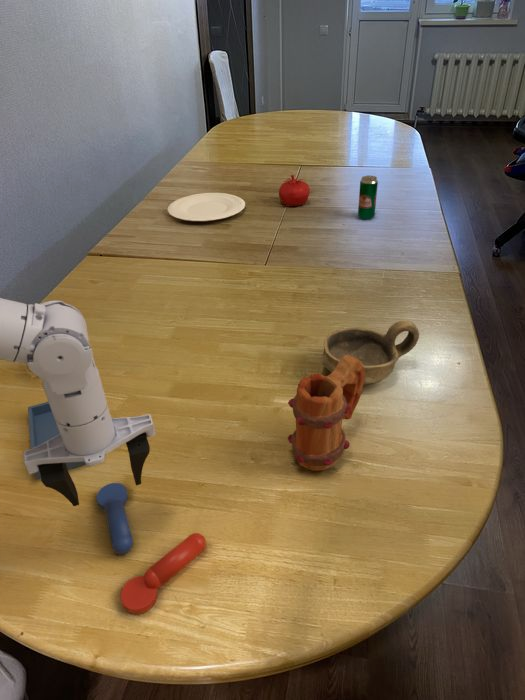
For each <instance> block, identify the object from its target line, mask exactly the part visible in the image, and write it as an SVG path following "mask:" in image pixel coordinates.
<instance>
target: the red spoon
mask: <svg viewBox="0 0 525 700" xmlns="http://www.w3.org/2000/svg"><path fill="white" fill-rule="evenodd" d="M206 546H207V541H206V538H205V536H204V535H203V534H202V533H199V532H193V533H191V534H190V535H188V536H187V537H186V538H184V540H182V541H181V542H179V543H178V544H177V545H176V546H175V547H173V548H172V549H171V550H170V551H168V552H167V553H166V554H165V555H163V556H162V557H160V558H159V560H157V561H156V562H155V563H154V564H152V565H151V566H150V567H149V568H147V570H146V571H144V574H143V575H138V576H134V577H132V578H130V579H129V580H128V581H127V582H126V583H125V584H124V585H123V587H122V588H121V592H120V601H121V604H122V607H123V609H124V610H125V611H126V612H127V613H129V614H131V615H141V614H144V613H146V612H148V611H150V610H151V609H152V608H153V606H154V605H155V604H156V601H157V600H158V589H159V588H161V587H163V586H164V585H165V584H166V583H167V582H169V581H170V580H171V579H172V578H174V577H175V576H176V575H177V574H178V573H180V571H182V570H183V569H184V568H186V567H187V565H189V564H190V563H191V562H192V561H193V560H194V559H195V558H197V557H198V556H200V555H201V554H202V553H203V552H204V550H205V549H206Z"/></svg>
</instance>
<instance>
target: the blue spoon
mask: <svg viewBox="0 0 525 700" xmlns="http://www.w3.org/2000/svg"><path fill="white" fill-rule="evenodd" d="M128 498H129V493H128V491H127V488H126V486H125V485H123V484H122V483H119V482H111V483H108V484H106V485H103V486H102V487H101V488H100V489H99V490H98V492H97V494H96V503H97V505H98V507H99V509H101V511H104V513H105V519H106V523H107V527H108V532H109V537H110V543H111V547H112V550H113V552H115V554H118V555H126V554H128V553H130V551H131V550H132V548H133V545H134V540H133V536H132V531H131V527H130V523H129V520H128V515H127V511H126V508H125V505H126V503H127V502H128Z"/></svg>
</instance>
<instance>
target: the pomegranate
mask: <svg viewBox="0 0 525 700" xmlns="http://www.w3.org/2000/svg"><path fill="white" fill-rule="evenodd" d="M282 182H283V183H282V184H281V185H280V187H279V189H278V198H279V199H280V201H281V203H282V204H283V205H285V206H286V207H297V206H303V205H304V204H305V203H306V202H308V199H309V197H310V193H311V188H310V186H309V185H310V184H308V183H307V182H306V181H305V179H301V178H300V179H299V177H296V178H295V174H290V178H289V177H288V178H286V180H283V181H282Z"/></svg>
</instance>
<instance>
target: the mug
mask: <svg viewBox="0 0 525 700" xmlns="http://www.w3.org/2000/svg"><path fill="white" fill-rule="evenodd" d="M364 379H365V371H364V366H363V364H362V362H361V361H360V360H358V359H356V358H355V357H352V356H350V355H345V356H344V357H343V358H341V360H340V361H339V363H338V365H337V366H336V368H335V370H334V371H333V372H332V373H331V372H330V374H328V375H323V374H322V373H320V372H319V373H312V374H310V375H309V376H307V377H306V376H305V377H303V378H302V379H300V381H299V383H298V384H297V388H296V394H295V396H294V397H293V398H291V399H289V400H288V401H287V404H288V406H289V407H290V408H291V409H292V413H293V416H294V419H295V430H294V432H293V433H292V434H289V435H288V436H287V441H288V442H289V444H291V447H292V452H293V454H294V456H295V460H296V462H297V463H298V465H300V466H301V467H304V468H305V469H308V470H311V471H316V472H319V471H325V470H327V469H330V468H331V467H333V466H335V465H336V463H337V462H338V461H339V460H340V458H341V457H342V456H343V454H344V453H345V450H347V449H349V447H350V441H348V440H347V439H346V433H345V431H344V429H343V420H351V419H352V417H353V414H354V412H355V409H356V407H357V405H358V403H359V401H360V399H361V395H362V392H363V389H364V385H365V384H364Z"/></svg>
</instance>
